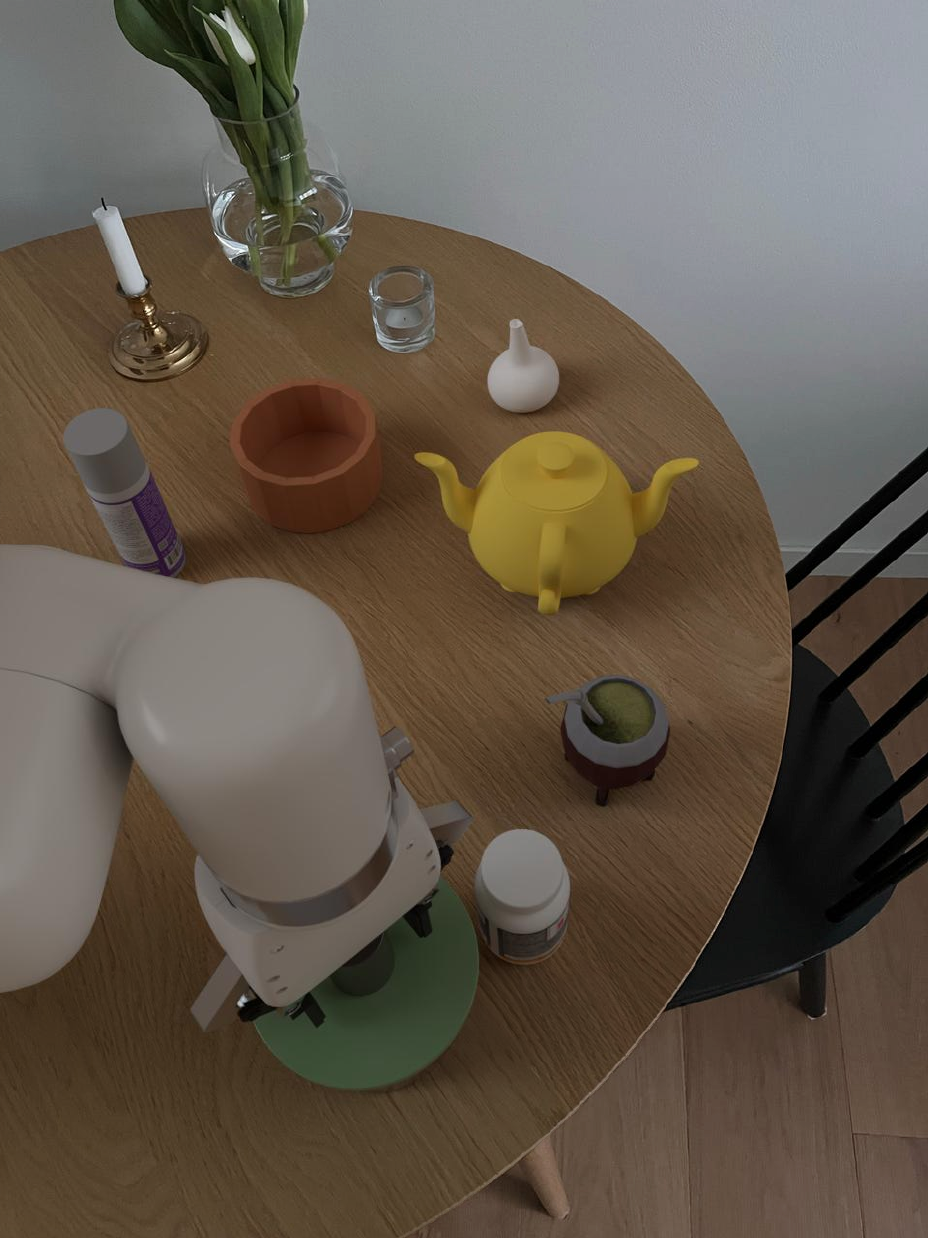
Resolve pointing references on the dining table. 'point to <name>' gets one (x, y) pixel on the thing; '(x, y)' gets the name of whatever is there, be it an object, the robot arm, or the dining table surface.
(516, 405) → the garlic bulb
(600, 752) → the mate gourd
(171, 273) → the dining table surface
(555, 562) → the teapot
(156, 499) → the container
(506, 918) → the pill bottle
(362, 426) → the bowl
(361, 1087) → the lid
